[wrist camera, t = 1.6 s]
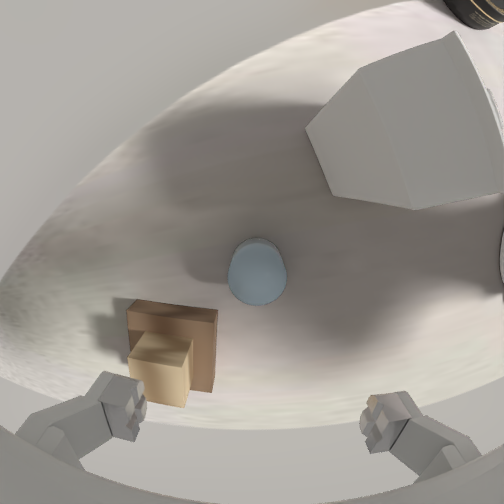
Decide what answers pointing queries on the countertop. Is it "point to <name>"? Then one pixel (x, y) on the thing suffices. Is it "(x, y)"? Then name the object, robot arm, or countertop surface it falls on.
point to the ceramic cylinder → (257, 272)
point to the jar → (478, 12)
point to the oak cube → (163, 367)
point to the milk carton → (413, 130)
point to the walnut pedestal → (179, 333)
